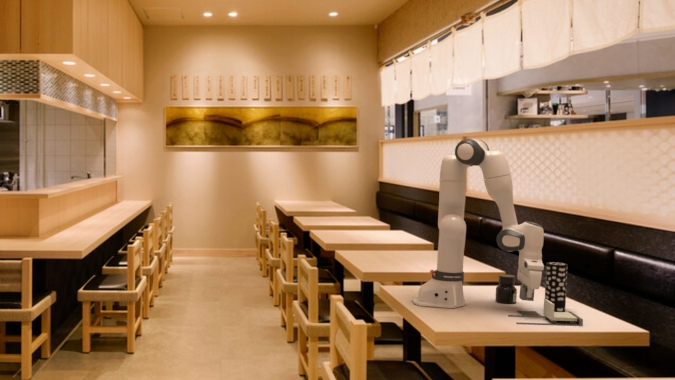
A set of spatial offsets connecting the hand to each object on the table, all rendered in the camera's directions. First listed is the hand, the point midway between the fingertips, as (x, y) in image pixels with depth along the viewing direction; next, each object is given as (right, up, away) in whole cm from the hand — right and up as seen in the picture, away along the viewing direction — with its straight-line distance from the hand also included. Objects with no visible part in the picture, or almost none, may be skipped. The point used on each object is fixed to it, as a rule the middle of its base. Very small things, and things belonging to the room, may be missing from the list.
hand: (526, 295), depth 262 cm
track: (+3, -8, -12) cm, 15 cm away
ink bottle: (-3, -7, +20) cm, 21 cm away
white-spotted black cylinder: (+14, -8, +7) cm, 18 cm away
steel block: (0, -2, 0) cm, 2 cm away
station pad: (+1, -8, 0) cm, 8 cm away
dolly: (+9, -9, -12) cm, 17 cm away
